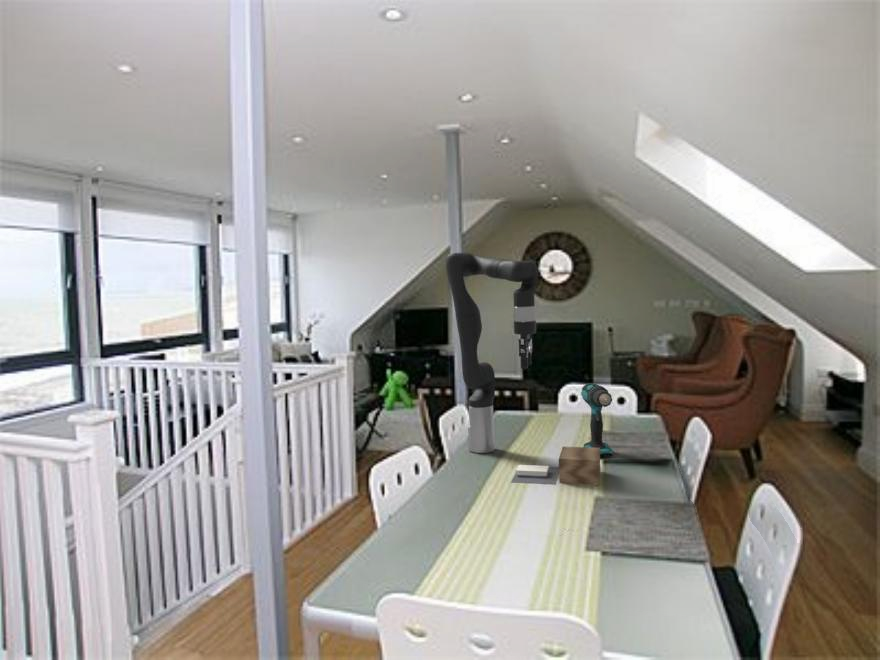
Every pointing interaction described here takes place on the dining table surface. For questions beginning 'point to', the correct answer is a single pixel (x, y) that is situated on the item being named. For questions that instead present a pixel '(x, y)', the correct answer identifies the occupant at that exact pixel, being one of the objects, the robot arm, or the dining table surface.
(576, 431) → the dining table surface
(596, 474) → the walnut block
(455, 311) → the robot arm
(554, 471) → the mat
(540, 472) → the card box
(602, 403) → the power drill
